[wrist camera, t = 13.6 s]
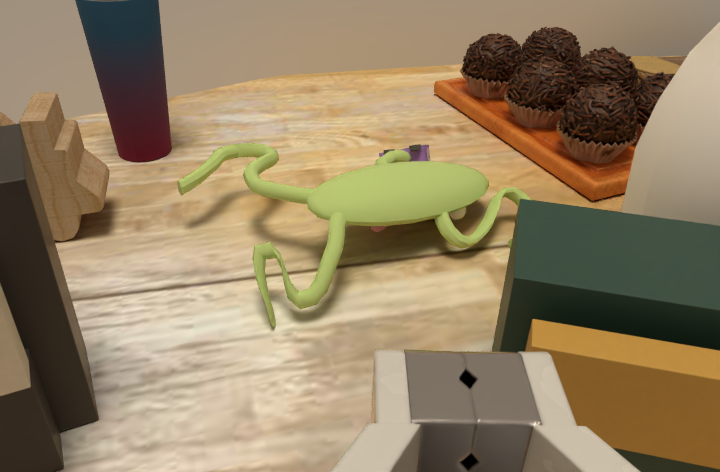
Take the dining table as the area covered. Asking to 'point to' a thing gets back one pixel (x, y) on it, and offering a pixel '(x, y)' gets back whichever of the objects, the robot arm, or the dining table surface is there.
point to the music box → (612, 283)
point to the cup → (130, 73)
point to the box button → (638, 390)
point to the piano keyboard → (11, 353)
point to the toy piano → (37, 323)
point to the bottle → (682, 144)
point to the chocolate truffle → (559, 105)
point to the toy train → (61, 165)
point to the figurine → (363, 203)
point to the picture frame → (656, 65)
